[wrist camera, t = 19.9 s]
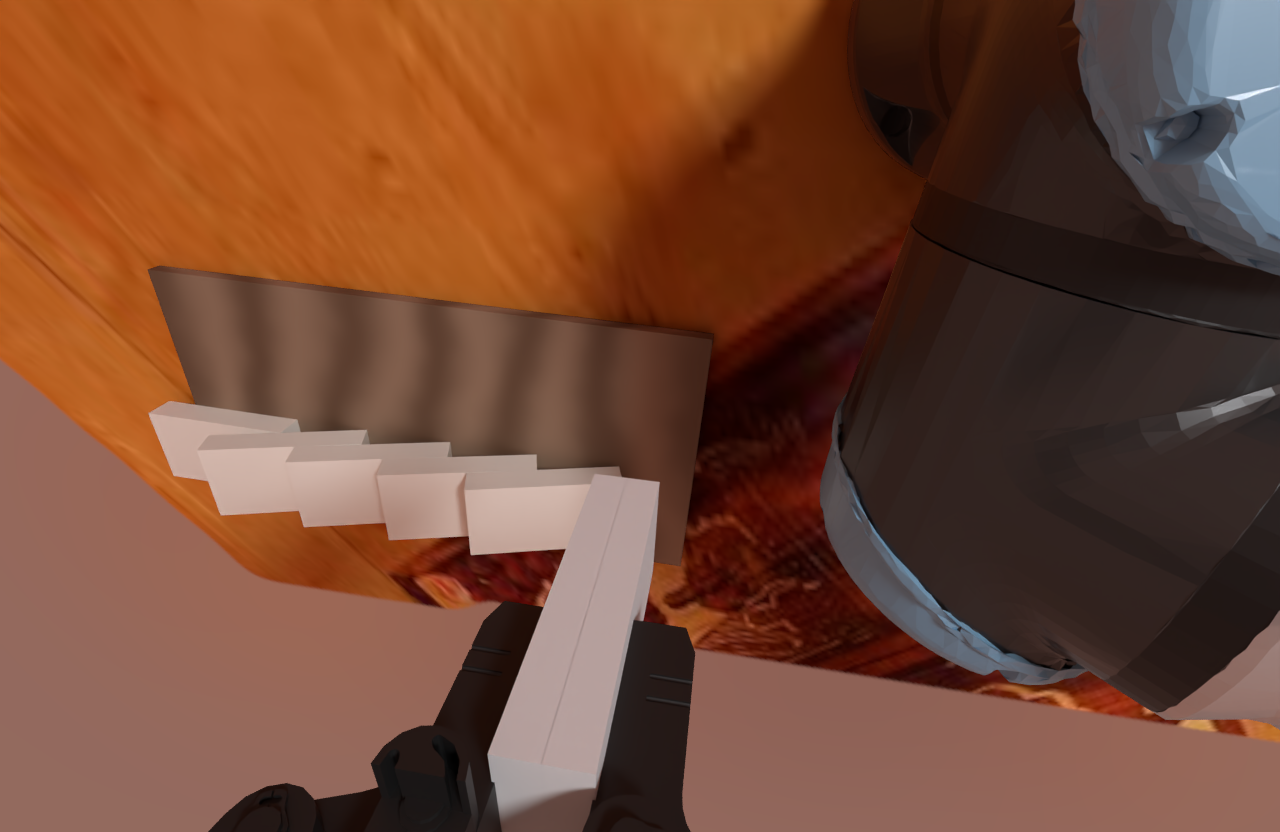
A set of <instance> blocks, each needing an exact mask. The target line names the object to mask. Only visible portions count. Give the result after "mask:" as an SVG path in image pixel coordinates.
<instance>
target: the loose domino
mask: <svg viewBox="0 0 1280 832" xmlns="http://www.w3.org/2000/svg"><path fill="white" fill-rule="evenodd" d="M595 474H601V475H609V476H617V477H622V476H621V472H620V468H619V466H617V467H594V468H570V469H547V470H524V471H500V472H477V473H466V480H465V488H464V493H465V503H466V513H467V523H468V533H469V543H470V553H471V555H479V554H494V553H509V552H524V551H539V550H553V549H566V548H567V545H568V543H569V540H570V538H571V535H572V532H573V530H574V527H575V524H576V522H577V519H578V517H579V514H580V511H581V509H582V506H583V504H584V501H585V498H586V496H587V493H588V491H589V488H590V485H591V483H592V480H593V478H594V475H595Z"/></svg>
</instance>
